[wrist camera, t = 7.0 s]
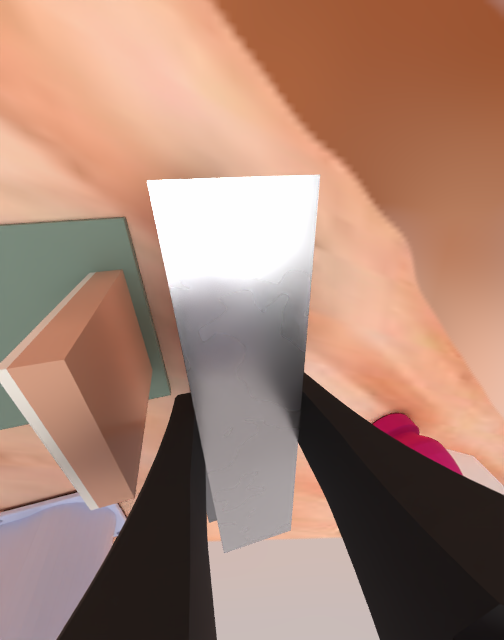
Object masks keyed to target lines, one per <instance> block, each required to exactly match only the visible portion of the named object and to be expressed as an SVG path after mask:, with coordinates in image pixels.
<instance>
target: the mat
mask: <svg viewBox="0 0 504 640" xmlns="http://www.w3.org/2000/svg"><path fill="white" fill-rule="evenodd" d="M121 269H123V273H124V276H125V279H126V283H127V286H128V290H129V293H130V296H131V300H132V303H133V306H134V310H135V313H136V316H137V320H138V323H139V326H140V330H141V333H142V337H143V340H144V343H145V347H146V350H147V353H148V357H149V360H150V363H151V367H152V370H153V371H152V378H151V385H150V392H149V399H154V398H159V397H163V396H168V395H171V388H170V384H169V381H168V377H167V373H166V369H165V366H164V362H163V358H162V354H161V350H160V347H159V343H158V339H157V335H156V331H155V328H154V324H153V320H152V316H151V312H150V309H149V305H148V301H147V297H146V293H145V290H144V286H143V282H142V278H141V274H140V271H139V267H138V263H137V259H136V256H135V252H134V248H133V244H132V240H131V237H130V233H129V229H128V225H127V221H126V218H125V217H116V218H100V219H84V220H68V221H53V222H37V223H21V224H5V225H0V363H1V362H2V361H3V360H4V359H5V358H6V357H7V356H8V355H9V354H10V353H11V352H12V351H13V350H14V349H15V348H16V347H17V346H18V345H19V344H20V343H21V342H22V341H23V340H24V339H25V338H26V337H27V336H28V335H29V334H30V333H31V331H32V330H33V329H34V328H35V327H36V326H37V325H38V324H39V323H40V322H41V321H42V320H43V319H44V318H45V317H46V316H47V315H48V314H49V313H50V312H51V311H52V310H53V309H54V308H55V307H56V306H57V305H58V304H59V303H60V302H61V301H62V300H63V299H64V298H65V297H66V296H67V295H68V294H69V293H70V292H71V291H72V290H73V289H74V288H75V287H76V286H77V285H78V284H79V283H80V282H81V281H82V280H83V279H84V278H85V277H86V276H87V275H88V274H89V273H92V272H101V271H111V270H121ZM149 399H148V400H149ZM26 424H29V423H28V421H27V420H26V418H25V417H24V416H23V414H22V413H21V411H20V410H19V409H18V407H17V406H16V404H15V403H14V401H13V400H12V399H11V397H10V396H9V394H8V393H7V392H6V390H5V389H4V387H3V386H2V385H1V383H0V430H2V429H7V428H11V427H16V426H21V425H26Z"/></svg>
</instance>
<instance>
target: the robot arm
mask: <svg viewBox="0 0 504 640" xmlns="http://www.w3.org/2000/svg"><path fill="white" fill-rule="evenodd" d="M298 443H299V445H300V447H301V449H302V451H303V453H304V455H305V457H306V459H307V461H308V463H309V465H310V467H311V469H312V471H313V473H314V475H315V477H316V479H317V481H318V483H319V485H320V487H321V489H322V491H323V493H324V495H325V497H326V499H327V501H328V504H329V506H330V508H331V511H332V513H333V516H334V518H335V521H336V523H337V526H338V528H339V531H340V533H341V536H342V538H343V541H344V543H345V546H346V549H347V551H348V554H349V556H350V559H351V561H352V564H353V567H354V569H355V572H356V575H357V577H358V580H359V583H360V585H361V588H362V591H363V594H364V596H365V599H366V602H367V604H368V607H369V610H370V612H371V615H372V618H373V621H374V624H375V627H376V629H377V633H378V635H379V638H380V640H504V495H503V494H501V493H499V492H496V491H494V490H492V489H490V488H488V487H486V486H484V485H481V484H479V483H477V482H475V481H473V480H471V479H469V478H467V477H465V476H463V475H461V474H458V473H456V472H454V471H452V470H450V469H449V468H447V467H445V466H443V465H441V464H439V463H437V462H435V461H433V460H432V459H430V458H428V457H426V456H424V455H422V454H420V453H419V452H417V451H415V450H413V449H411V448H410V447H408V446H406V445H405V444H403V443H401V442H400V441H398V440H396V439H395V438H393V437H391V436H390V435H388V434H386V433H385V432H383V431H382V430H380V429H379V428H377V427H376V426H374V425H373V424H371V423H370V422H368V421H367V420H365V419H364V418H362V417H361V416H360V415H358V414H357V413H355V412H354V411H353V410H351V409H350V408H349V407H347V406H346V405H345V404H343V403H342V402H341V401H339V400H338V399H337V398H335V397H334V396H333V395H332V394H330V393H329V392H328V391H327V390H325V389H324V388H323V387H322V386H320V385H319V384H318V383H317V382H315V381H314V380H313V379H312V378H311V377H309V376H308V375H307V374H306V373H304V375H303V388H302V400H301V412H300V424H299V436H298ZM115 536H117V538H116V540H115V542H114V544H113V545H112V542H113V537H115ZM0 640H217V637H216V627H215V617H214V607H213V596H212V587H211V576H210V565H209V555H208V542H207V513H206V464H205V459H204V454H203V449H202V444H201V439H200V435H199V430H198V425H197V420H196V415H195V410H194V406H193V401H192V396H191V393H186V394H181V395H178V396H177V397H176V398H175V401H174V406H173V409H172V413H171V416H170V420H169V423H168V426H167V429H166V432H165V434H164V437H163V439H162V442H161V445H160V447H159V450H158V453H157V455H156V458H155V460H154V462H153V464H152V467H151V469H150V471H149V474H148V476H147V478H146V480H145V483H144V485H143V487H142V489H141V491H140V493H139V495H138V498H137V500H136V502H135V504H134V506H133V508H132V510H131V512H130V514H129V515H128V517H127V519H126V517H125V515H124V513H123V512H122V510H121V508H120V507H119V505H118V503H116V504H112V505H108V506H105V507H101V508H98V509H94V510H90V509H89V507H88V506H87V504H86V503H85V502H84V500H83V499H82V497H81V496H80V495H79V493H78V492H77V493H73V494H69V495H65V496H62V497H58V498H54V499H50V500H46V501H42V502H39V503H35V504H31V505H27V506H23V507H19V508H16V509H12V510H8V511H4V512H0Z"/></svg>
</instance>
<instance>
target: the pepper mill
mask: <svg viewBox="0 0 504 640" xmlns="http://www.w3.org/2000/svg"><path fill="white" fill-rule="evenodd" d="M373 425H374V426H376V427H377V428H379V429H380V430H382V431H383V432H385V433H386V434H388V435H390V436H391V437H393V438H395V439H396V440H398V441H400V442H401V443H403V444H405V445H406V446H408V447H410V448H411V449H413V450H415V451H417V452H419V453H420V454H422V455H424V456H426V457H428V458H430V459H432V460H433V461H435V462H437V463H439V464H441V465H443V466H445V467H447V468H449V469H450V470H452V471H454V472H456V473H458V474H461V475H463V474H462V472H461V470H460V468H459V467H458V465H457V463H456V462H455V460H454V459H453V457H452V456H451V455H450V454H449V453H448V451H447V450H446V449H445V448H444V447H443V446H442V444H440V443H439V442H438V441H436V440H434V439H432V438H429V437H425V436H421V435H419V428H418V427H417V426H416V425H415V424H414V423H413V422H412V421H411V420H410V419H409V418H408V417H407V416H406V415H404V414H401V413H395V414H390V415H387V416H385V417H383V418H381V419H379V420H377V421H376V422H375V423H373Z"/></svg>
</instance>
